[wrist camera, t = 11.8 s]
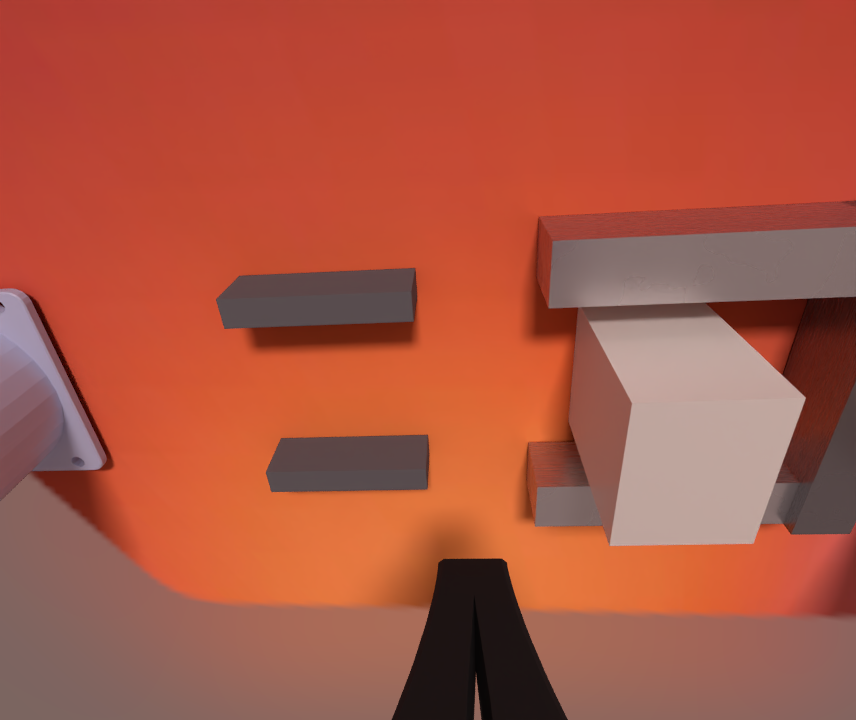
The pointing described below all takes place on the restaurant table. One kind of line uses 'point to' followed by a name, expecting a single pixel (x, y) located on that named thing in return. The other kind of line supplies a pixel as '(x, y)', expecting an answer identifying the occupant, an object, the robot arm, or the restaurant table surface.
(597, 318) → the plug
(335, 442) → the pair of grey blocks
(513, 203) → the restaurant table surface
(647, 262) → the block
